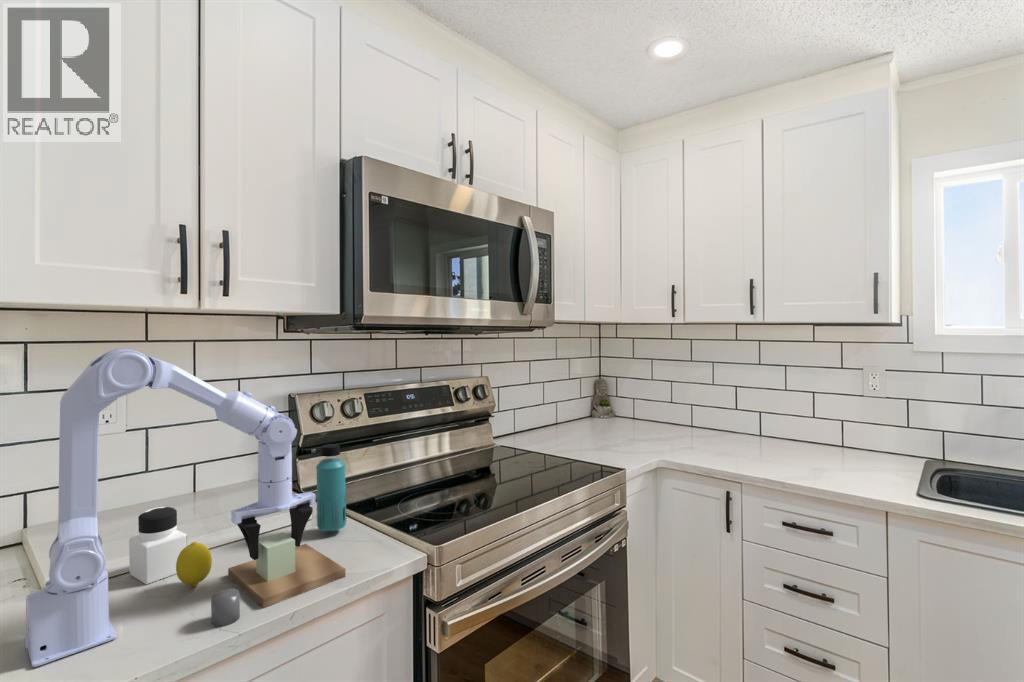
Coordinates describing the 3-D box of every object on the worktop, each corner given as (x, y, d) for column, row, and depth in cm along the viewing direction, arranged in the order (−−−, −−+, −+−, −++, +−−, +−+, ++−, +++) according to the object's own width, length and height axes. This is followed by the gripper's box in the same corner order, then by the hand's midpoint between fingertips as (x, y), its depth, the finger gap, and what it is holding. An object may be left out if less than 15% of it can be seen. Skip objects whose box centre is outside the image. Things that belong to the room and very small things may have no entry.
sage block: (267, 581, 94) (267, 548, 93) (256, 572, 97) (256, 540, 97) (295, 571, 97) (295, 540, 97) (283, 563, 101) (283, 532, 100)
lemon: (195, 595, 92) (194, 550, 91) (168, 591, 93) (167, 547, 92) (219, 580, 97) (218, 537, 97) (193, 577, 98) (192, 534, 98)
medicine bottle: (188, 570, 101) (187, 508, 100) (146, 585, 95) (144, 520, 94) (170, 560, 105) (169, 501, 104) (129, 574, 99) (127, 511, 98)
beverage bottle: (347, 535, 117) (347, 447, 117) (316, 540, 115) (315, 449, 114) (345, 525, 123) (345, 440, 123) (315, 529, 121) (315, 443, 120)
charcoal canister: (217, 630, 82) (216, 604, 81) (207, 620, 84) (207, 595, 84) (243, 619, 85) (243, 594, 84) (233, 609, 87) (233, 586, 87)
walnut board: (263, 608, 88) (263, 599, 88) (228, 576, 99) (228, 568, 98) (345, 576, 99) (345, 568, 99) (305, 550, 110) (305, 543, 109)
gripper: (241, 492, 88) (242, 571, 89) (323, 474, 99) (323, 545, 100) (226, 483, 93) (227, 558, 94) (305, 467, 104) (305, 535, 104)
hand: (275, 551), depth 97 cm, fingers open, 7 cm apart
